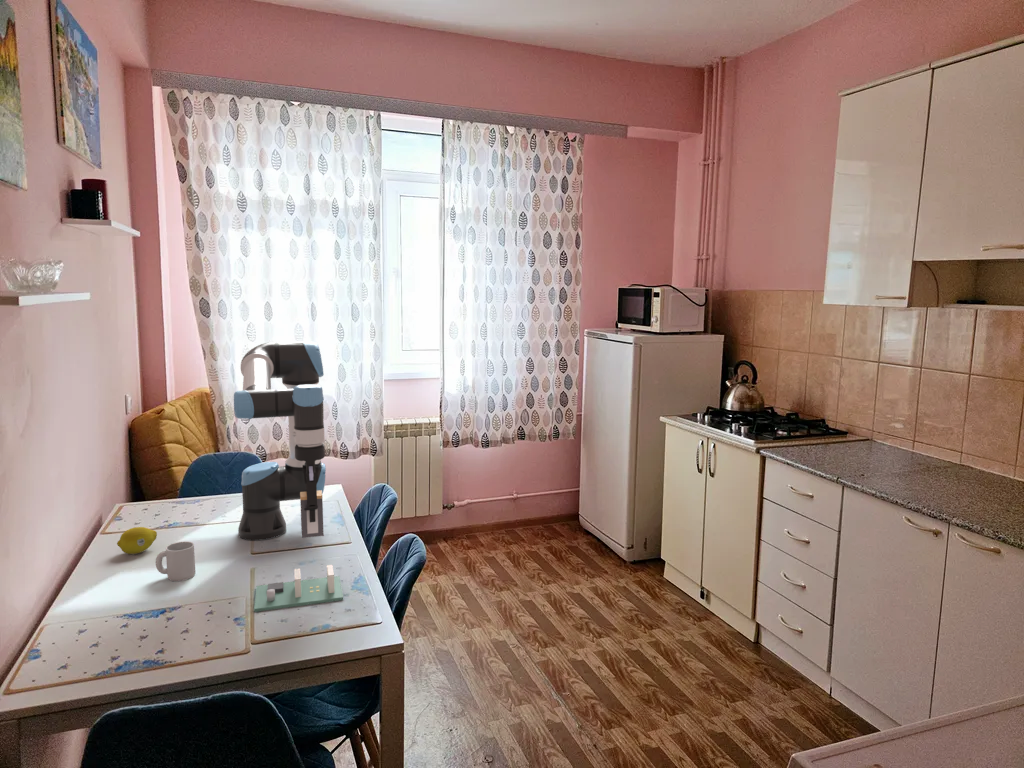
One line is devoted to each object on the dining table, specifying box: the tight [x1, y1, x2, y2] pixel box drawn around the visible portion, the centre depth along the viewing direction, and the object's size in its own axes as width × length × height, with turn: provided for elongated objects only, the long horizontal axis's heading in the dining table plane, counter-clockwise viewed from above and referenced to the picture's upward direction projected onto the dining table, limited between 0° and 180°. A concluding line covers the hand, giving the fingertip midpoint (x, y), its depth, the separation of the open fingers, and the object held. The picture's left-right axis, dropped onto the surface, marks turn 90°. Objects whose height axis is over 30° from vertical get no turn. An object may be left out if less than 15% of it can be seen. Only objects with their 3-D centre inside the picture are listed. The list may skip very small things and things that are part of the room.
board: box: [253, 564, 344, 613], centre depth 177 cm, size 14×22×6 cm, turn 109°
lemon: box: [116, 526, 158, 555], centre depth 205 cm, size 11×8×8 cm
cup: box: [155, 541, 196, 582], centre depth 187 cm, size 7×10×9 cm
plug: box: [299, 490, 324, 539], centre depth 176 cm, size 5×6×11 cm
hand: (312, 529), depth 177 cm, fingers closed on plug, 5 cm apart
